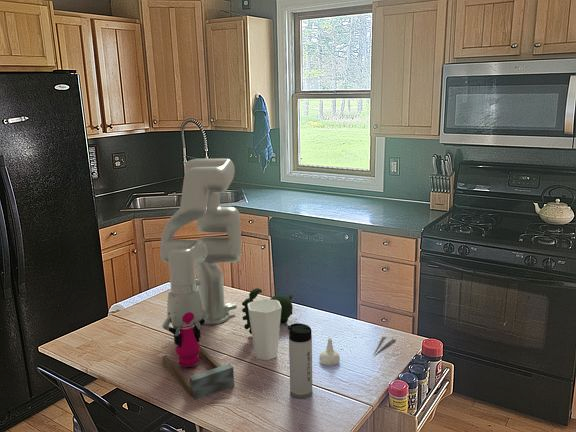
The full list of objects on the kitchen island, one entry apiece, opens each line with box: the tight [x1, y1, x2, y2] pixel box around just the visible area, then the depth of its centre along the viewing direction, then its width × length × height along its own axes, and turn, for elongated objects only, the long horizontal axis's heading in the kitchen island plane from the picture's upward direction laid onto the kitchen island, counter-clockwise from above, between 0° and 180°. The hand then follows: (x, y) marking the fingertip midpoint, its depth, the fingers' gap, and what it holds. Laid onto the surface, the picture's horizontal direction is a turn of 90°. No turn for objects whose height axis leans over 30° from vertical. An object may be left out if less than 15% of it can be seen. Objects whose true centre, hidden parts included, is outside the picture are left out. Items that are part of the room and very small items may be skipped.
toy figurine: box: [241, 287, 293, 335], centre depth 180 cm, size 9×19×25 cm
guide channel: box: [162, 344, 235, 401], centre depth 153 cm, size 12×24×6 cm, turn 33°
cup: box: [247, 298, 282, 361], centre depth 162 cm, size 11×10×17 cm
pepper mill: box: [175, 312, 200, 368], centre depth 156 cm, size 7×7×20 cm
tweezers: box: [372, 335, 396, 358], centre depth 166 cm, size 18×5×2 cm, turn 148°
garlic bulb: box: [318, 337, 341, 367], centre depth 158 cm, size 6×6×8 cm
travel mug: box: [286, 322, 313, 399], centre depth 140 cm, size 6×7×20 cm
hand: (187, 342), depth 157 cm, fingers closed on pepper mill, 5 cm apart
